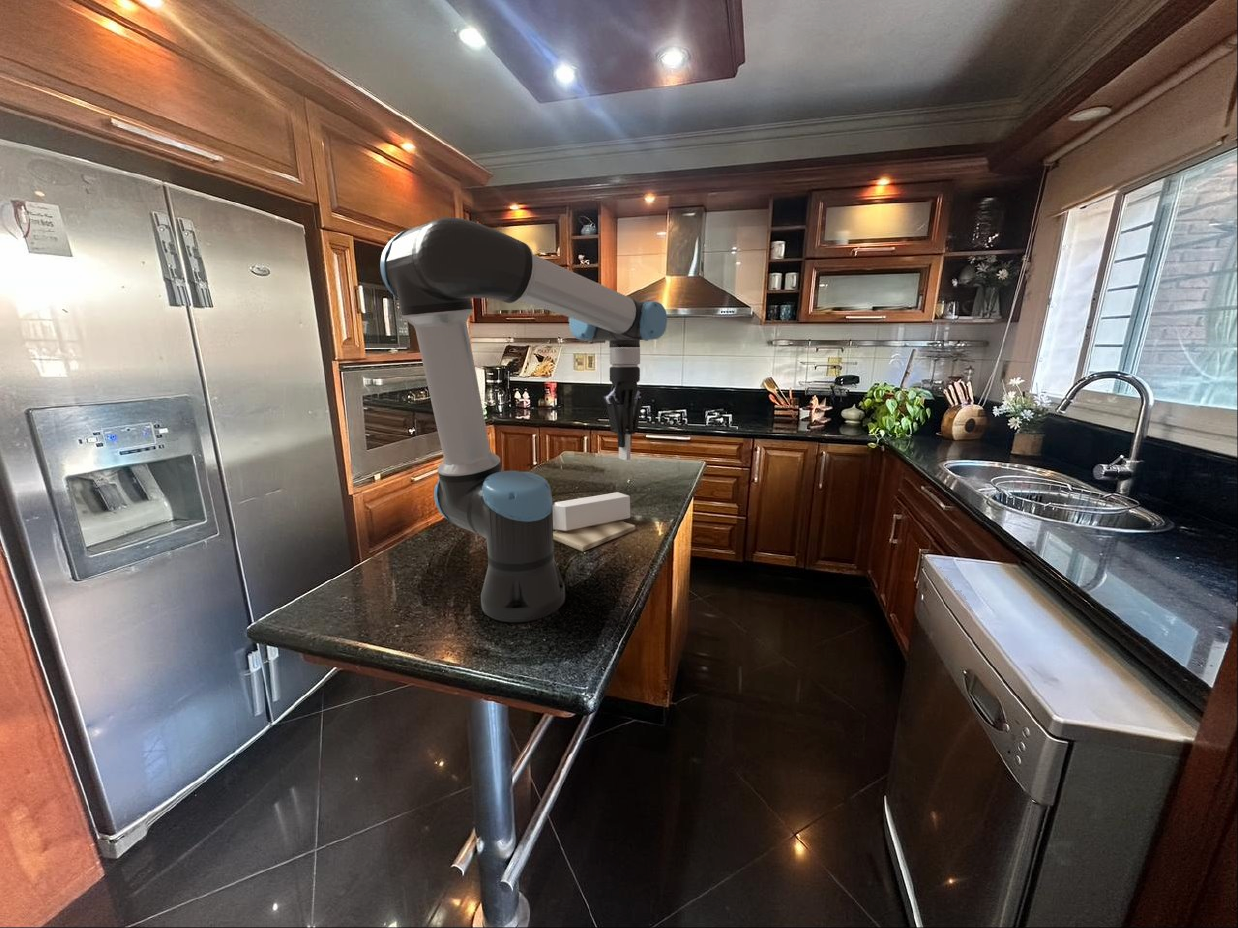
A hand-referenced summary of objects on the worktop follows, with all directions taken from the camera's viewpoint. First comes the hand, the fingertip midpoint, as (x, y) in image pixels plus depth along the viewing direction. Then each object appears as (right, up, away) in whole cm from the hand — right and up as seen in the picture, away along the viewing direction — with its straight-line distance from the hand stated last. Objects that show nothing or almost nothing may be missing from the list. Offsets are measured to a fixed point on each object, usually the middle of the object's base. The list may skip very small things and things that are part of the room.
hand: (624, 458), depth 124 cm
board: (-8, -19, -4) cm, 21 cm away
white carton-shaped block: (0, -12, +4) cm, 13 cm away
